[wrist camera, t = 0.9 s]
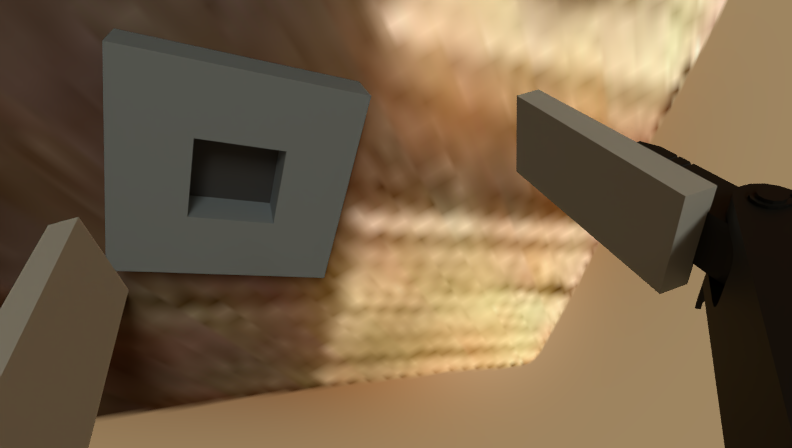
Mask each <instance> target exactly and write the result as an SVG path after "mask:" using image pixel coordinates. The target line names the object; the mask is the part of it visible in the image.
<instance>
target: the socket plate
mask: <svg viewBox="0 0 792 448" xmlns="http://www.w3.org/2000/svg"><path fill="white" fill-rule="evenodd" d="M102 44H103V109H104V174H105V239H106V258H107V259H108V261H109V262H110V264H111V265H112V267H113V268H114V270H115V271H139V272H168V273H198V274H227V275H257V276H286V277H316V278H324V276H325V272H326V268H327V264H328V260H329V256H330V252H331V249H332V245H333V241H334V237H335V233H336V229H337V225H338V222H339V218H340V214H341V210H342V206H343V202H344V198H345V195H346V191H347V187H348V183H349V179H350V175H351V171H352V168H353V164H354V160H355V156H356V152H357V148H358V144H359V140H360V137H361V133H362V129H363V125H364V121H365V117H366V113H367V110H368V106H369V102H370V98H371V95H370V94H369V93H368V92H367V91H366V89H365V88H364V87H363V86H362V85H361V84H360V82H358V81H353V80H348V79H344V78H339V77H335V76H330V75H325V74H321V73H316V72H312V71H307V70H302V69H298V68H293V67H289V66H284V65H279V64H275V63H270V62H266V61H261V60H256V59H252V58H247V57H243V56H238V55H233V54H229V53H224V52H220V51H215V50H210V49H206V48H201V47H197V46H192V45H187V44H183V43H178V42H174V41H169V40H164V39H160V38H155V37H151V36H146V35H141V34H137V33H132V32H128V31H123V30H118V29H113V30H112V31H111V32H110V33H109V34H108V35H107V36H106V37H105V38H104V39H103V41H102Z"/></svg>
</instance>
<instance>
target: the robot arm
mask: <svg viewBox="0 0 792 448" xmlns="http://www.w3.org/2000/svg"><path fill="white" fill-rule="evenodd" d="M517 172H518V173H519V174H520V175H522V176H523V177H524V178H525V179H526V180H527V181H529V182H530V183H531V184H532V185H533V186H534V187H536V188H537V189H538V190H539V191H540V192H541V193H543V194H544V195H545V196H546V197H547V198H548V199H550V200H551V201H552V202H553V203H554V204H555V205H557V206H558V207H559V208H560V209H561V210H562V211H564V212H565V213H566V214H567V215H568V216H569V217H571V218H572V219H573V220H574V221H575V222H576V223H578V224H579V225H580V226H581V227H582V228H583V229H585V230H586V231H587V232H588V233H589V234H590V235H592V236H593V237H594V238H595V239H596V240H597V241H599V242H600V243H601V244H602V245H603V246H604V247H606V248H607V249H608V250H609V251H610V252H611V253H613V254H614V255H615V256H616V257H617V258H619V259H620V260H621V261H622V262H623V263H624V264H625V265H627V266H628V267H629V268H630V269H631V270H632V271H634V272H635V273H636V274H637V275H639V276H640V277H641V278H642V279H643V280H644V281H645V282H647V283H648V284H649V285H650V286H651V287H652V288H654V289H655V290H656V291H657V292H658V293H659V294H661V293H664V292H667V291H669V290H672V289H674V288H677V287H680V286H683V285H685V284H687V283H688V280H689V277H690V273H691V270H692V267H693V264H695V265H696V266H697V267H699V268H700V269H701V270H703V271H704V272H706V275H705V278H704V281H703V284H702V287H701V290H700V293H699V296H698V299H697V302H696V306H695V308H696V309H701V306H702V303H703V302H704V301H705V306H706V313H707V321H708V328H709V335H710V343H711V349H712V357H713V364H714V372H715V379H716V386H717V394H718V401H719V408H720V415H721V423H722V429H723V437H724V445H725V448H792V190H790V189H787V188H784V187H781V186H777V185H769V184H748V185H744V186H740V187H737V186H735V185H734V184H732V183H730V182H728V181H726V180H724V179H722V178H720V177H718V176H716V175H714V174H712V173H711V172H709V171H707V170H705V169H703V168H701V167H699V166H697V165H695V164H692V165H691V163H690V162H689V161H687V160H685V159H683V158H681V157H677V155H676V154H674V153H672V152H670V151H668V150H666V149H664V148H662V147H660V146H656V145H652V144H648V143H645V142H641V141H639V142H635V141H633V140H631V139H630V138H628V137H626V136H624V135H622V134H620V133H618V132H616V131H615V130H613V129H611V128H609V127H607V126H605V125H603V124H602V123H600V122H598V121H596V120H594V119H592V118H590V117H589V116H587V115H585V114H583V113H581V112H579V111H577V110H576V109H574V108H572V107H570V106H568V105H566V104H564V103H563V102H561V101H559V100H557V99H555V98H553V97H551V96H550V95H548V94H546V93H544V92H542V91H540V90H535V91H532V92H528V93H525V94H521V95H517ZM127 294H128V288H127V287H126V286H125V284H124V283H123V281H122V280H121V278H120V277H119V275H118V274H117V272H116V271H115V270H114V268H113V267H112V265H111V264H110V262H109V261H108V259H107V258H106V256H105V255H104V253H103V252H102V251H101V249H100V248H99V246H98V245H97V243H96V242H95V240H94V239H93V237H92V236H91V235H90V233H89V232H88V230H87V229H86V227H85V226H84V224H83V223H82V221H81V220H80V218H79V217H76V218H73V219H69V220H66V221H62V222H58V223H55V224H51V225H48V227H47V228H46V230H45V232H44V234H43V235H42V237H41V239H40V240H39V242H38V244H37V246H36V247H35V249H34V251H33V253H32V254H31V256H30V258H29V260H28V261H27V263H26V265H25V267H24V268H23V270H22V272H21V274H20V275H19V277H18V279H17V281H16V282H15V284H14V286H13V288H12V289H11V291H10V293H9V295H8V296H7V298H6V300H5V302H4V303H3V305H2V307H1V309H0V448H88V447H89V443H90V439H91V435H92V431H93V427H94V423H95V419H96V415H97V412H98V408H99V404H100V400H101V396H102V392H103V388H104V384H105V380H106V376H107V372H108V368H109V365H110V361H111V357H112V353H113V349H114V345H115V341H116V337H117V333H118V329H119V325H120V321H121V318H122V314H123V310H124V306H125V302H126V298H127Z"/></svg>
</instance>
